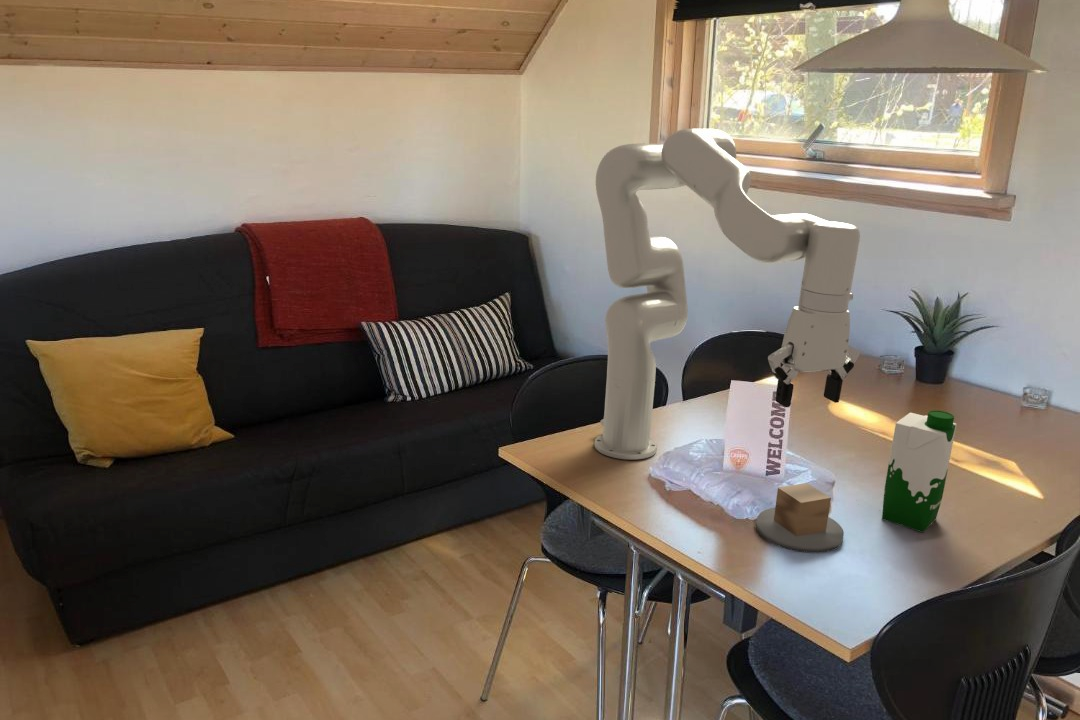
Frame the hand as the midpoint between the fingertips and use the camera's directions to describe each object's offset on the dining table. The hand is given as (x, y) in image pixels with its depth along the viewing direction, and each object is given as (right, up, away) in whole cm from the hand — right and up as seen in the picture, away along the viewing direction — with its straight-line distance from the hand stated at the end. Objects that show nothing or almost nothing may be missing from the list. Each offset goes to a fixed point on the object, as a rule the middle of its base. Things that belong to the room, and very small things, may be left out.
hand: (807, 402), depth 147 cm
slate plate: (-1, -22, +3) cm, 22 cm away
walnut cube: (-1, -21, +2) cm, 21 cm away
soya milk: (+20, -21, +9) cm, 31 cm away
